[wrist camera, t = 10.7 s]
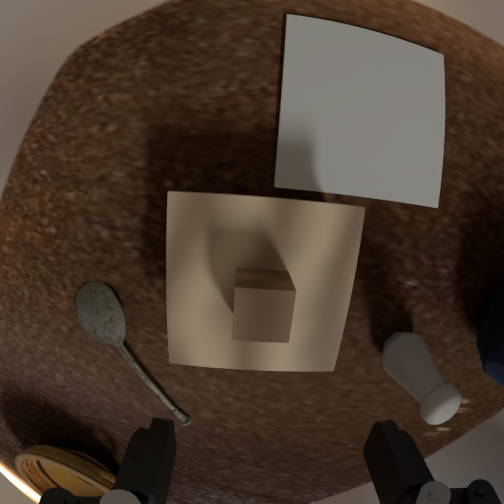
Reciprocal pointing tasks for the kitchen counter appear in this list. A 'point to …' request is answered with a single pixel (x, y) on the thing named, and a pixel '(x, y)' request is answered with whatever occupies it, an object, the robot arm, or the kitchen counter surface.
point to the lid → (258, 280)
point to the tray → (360, 114)
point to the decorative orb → (492, 338)
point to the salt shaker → (420, 376)
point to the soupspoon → (111, 329)
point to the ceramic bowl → (63, 471)
